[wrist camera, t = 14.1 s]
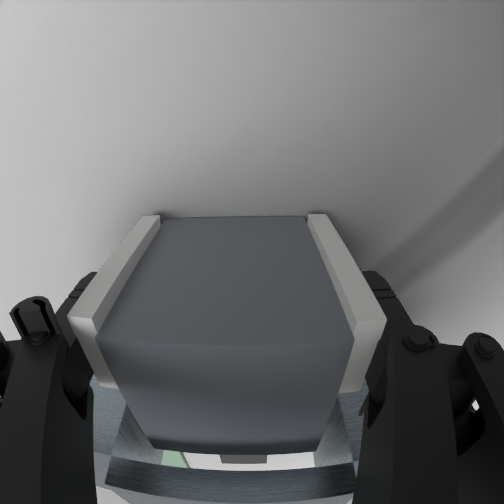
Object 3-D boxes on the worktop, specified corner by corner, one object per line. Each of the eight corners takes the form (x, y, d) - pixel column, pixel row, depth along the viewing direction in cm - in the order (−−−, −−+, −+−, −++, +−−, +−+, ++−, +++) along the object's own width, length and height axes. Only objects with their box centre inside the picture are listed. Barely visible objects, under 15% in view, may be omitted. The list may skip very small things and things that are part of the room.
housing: (102, 303, 15) (26, 455, 6) (376, 303, 15) (448, 465, 7) (128, 373, 18) (90, 502, 9) (353, 374, 18) (389, 508, 9)
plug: (165, 218, 13) (94, 337, 6) (303, 216, 13) (354, 339, 6) (206, 424, 21) (198, 508, 14) (282, 424, 21) (289, 509, 14)
